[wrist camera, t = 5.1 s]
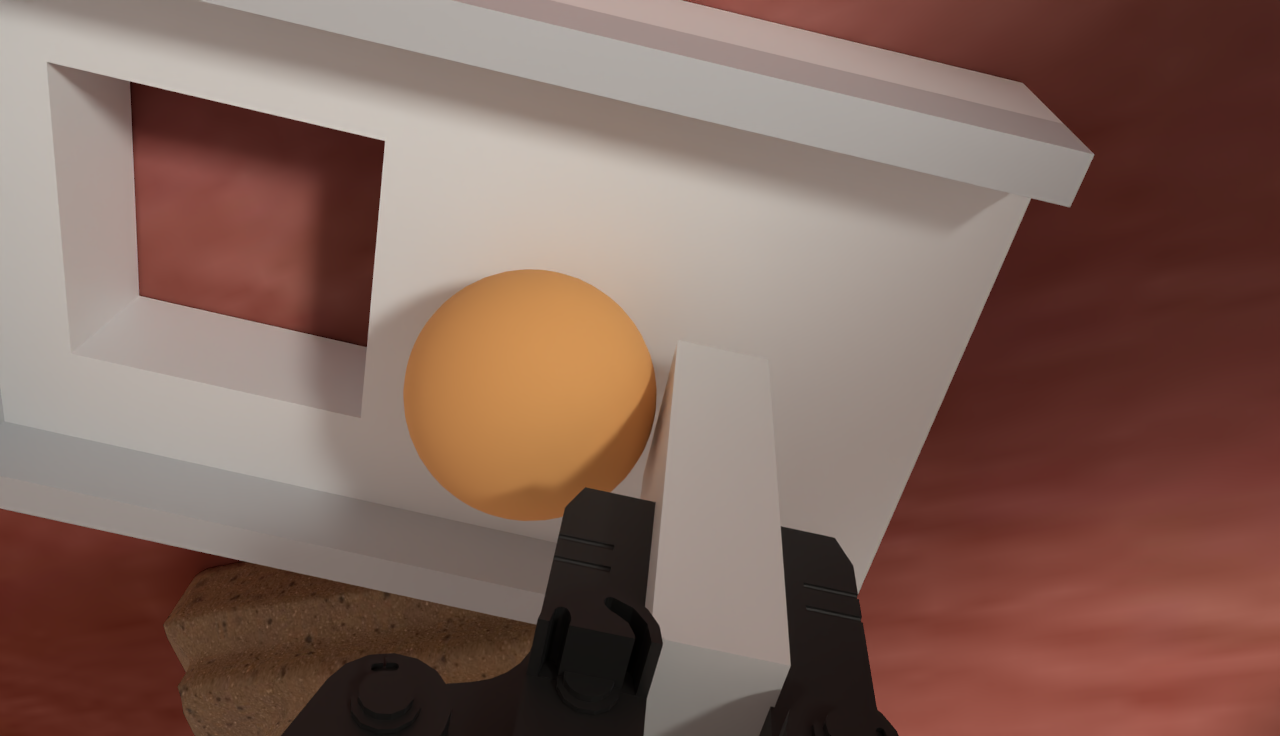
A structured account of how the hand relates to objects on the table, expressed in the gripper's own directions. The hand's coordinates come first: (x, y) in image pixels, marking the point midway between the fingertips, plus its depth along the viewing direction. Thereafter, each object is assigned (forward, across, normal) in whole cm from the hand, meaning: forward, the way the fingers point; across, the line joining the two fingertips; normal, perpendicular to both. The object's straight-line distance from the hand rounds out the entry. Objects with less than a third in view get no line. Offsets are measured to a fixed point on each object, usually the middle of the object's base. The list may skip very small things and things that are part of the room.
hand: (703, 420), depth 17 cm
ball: (0, -3, 0) cm, 3 cm away
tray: (+4, -5, 0) cm, 6 cm away
